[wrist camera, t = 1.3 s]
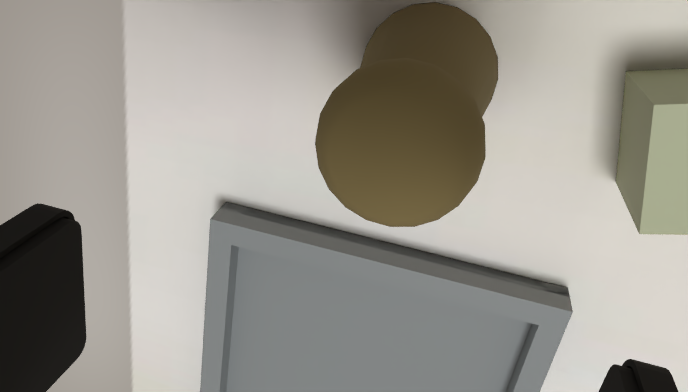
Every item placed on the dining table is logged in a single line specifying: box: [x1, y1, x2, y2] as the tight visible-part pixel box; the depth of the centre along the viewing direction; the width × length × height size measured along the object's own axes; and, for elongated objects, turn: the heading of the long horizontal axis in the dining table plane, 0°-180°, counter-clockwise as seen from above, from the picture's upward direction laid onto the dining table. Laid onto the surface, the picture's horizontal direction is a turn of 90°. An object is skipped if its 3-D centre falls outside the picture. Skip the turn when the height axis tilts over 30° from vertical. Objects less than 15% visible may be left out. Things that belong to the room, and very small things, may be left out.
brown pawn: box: [315, 2, 498, 227], centre depth 22 cm, size 6×6×11 cm
